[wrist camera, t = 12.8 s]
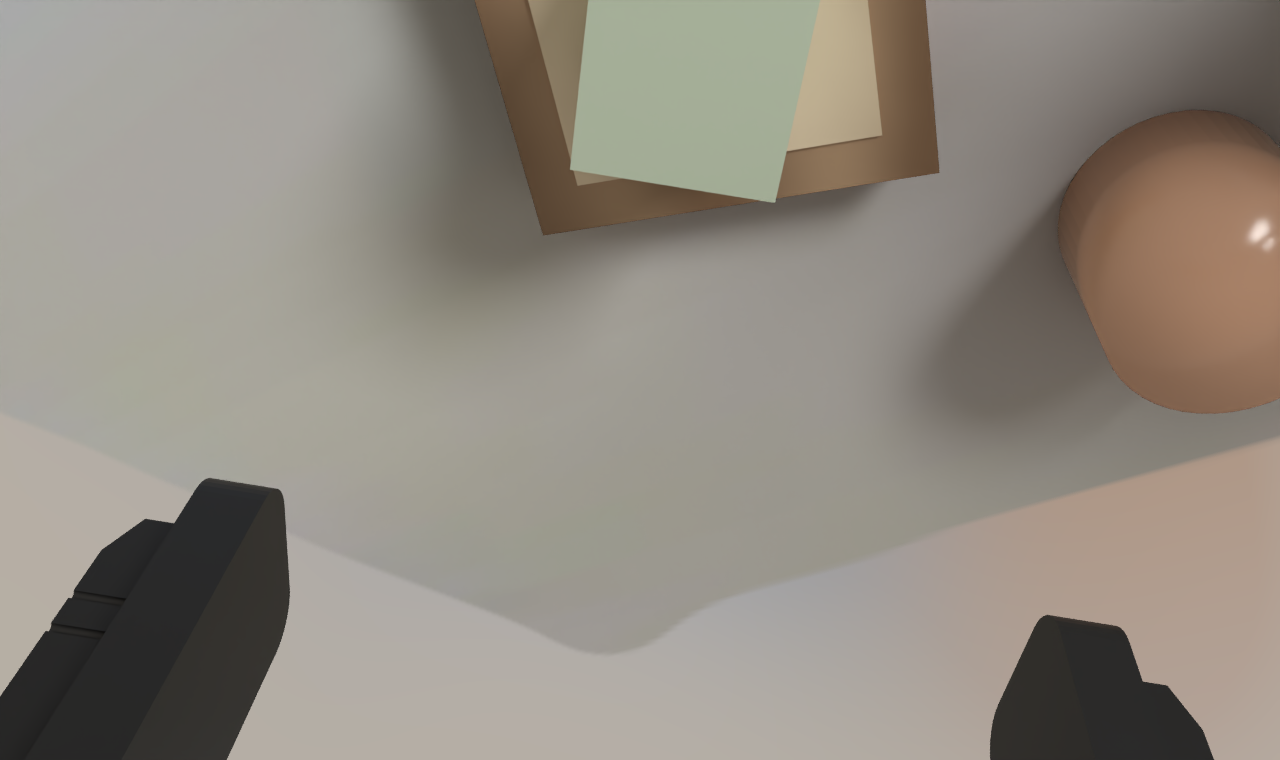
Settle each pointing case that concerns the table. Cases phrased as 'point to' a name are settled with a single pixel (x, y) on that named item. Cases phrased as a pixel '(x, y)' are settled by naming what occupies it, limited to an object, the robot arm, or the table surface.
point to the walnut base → (821, 132)
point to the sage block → (692, 91)
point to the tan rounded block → (1182, 259)
